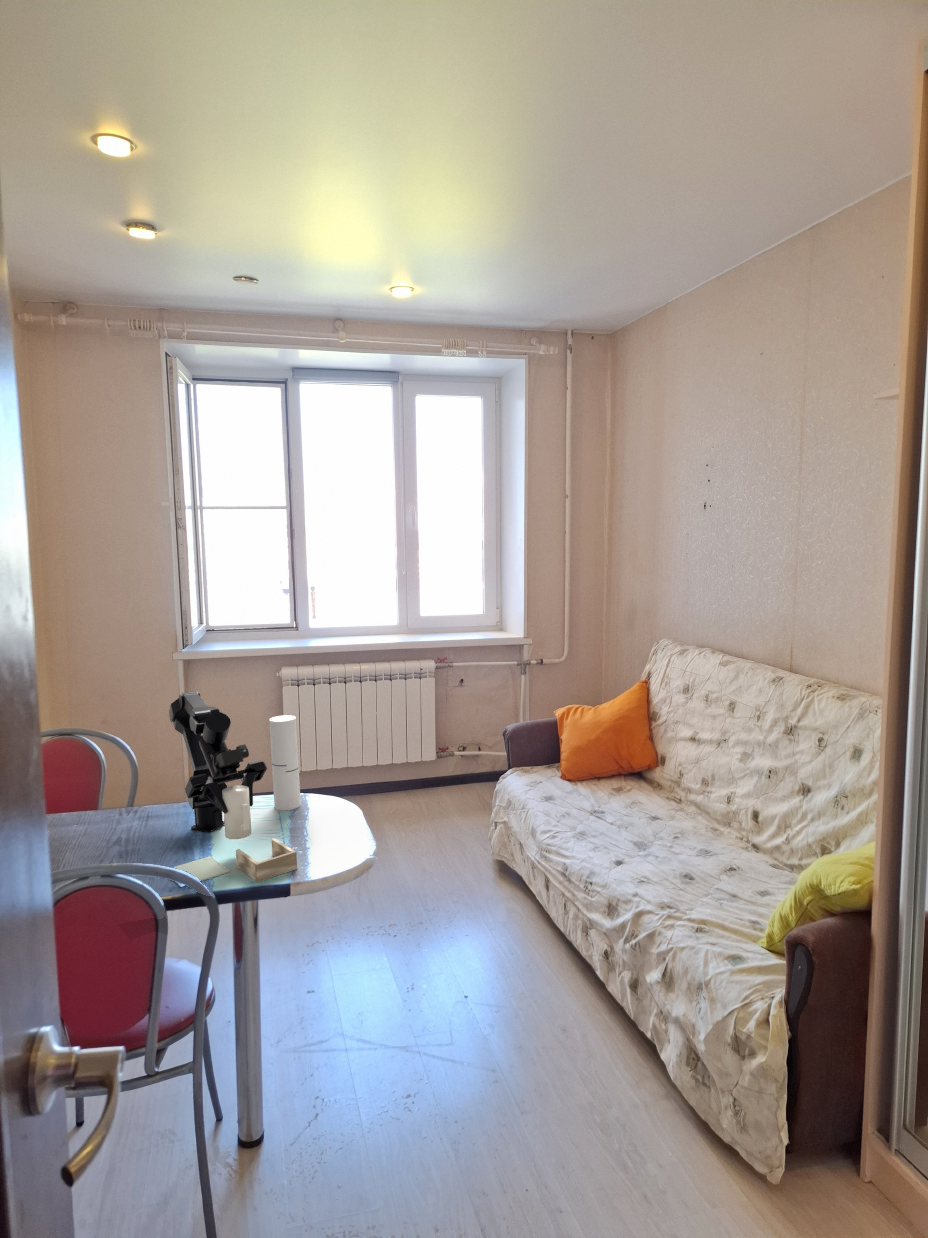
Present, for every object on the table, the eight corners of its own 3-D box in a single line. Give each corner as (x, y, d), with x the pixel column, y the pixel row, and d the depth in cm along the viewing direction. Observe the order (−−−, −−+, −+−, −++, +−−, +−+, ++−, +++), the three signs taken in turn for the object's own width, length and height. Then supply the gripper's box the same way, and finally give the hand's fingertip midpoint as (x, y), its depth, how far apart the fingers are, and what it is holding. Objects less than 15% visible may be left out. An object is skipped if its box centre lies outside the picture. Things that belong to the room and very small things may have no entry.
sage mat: (163, 871, 173) (163, 870, 173) (210, 857, 180) (210, 856, 180) (180, 887, 165) (180, 886, 165) (229, 872, 172) (229, 871, 172)
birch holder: (236, 866, 175) (235, 850, 174) (275, 854, 181) (274, 838, 180) (257, 882, 167) (256, 864, 166) (297, 868, 173) (296, 852, 172)
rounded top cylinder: (220, 834, 181) (218, 789, 180) (244, 827, 185) (241, 783, 184) (235, 844, 175) (232, 798, 174) (259, 836, 179) (257, 791, 178)
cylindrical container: (276, 802, 217) (271, 716, 214) (302, 800, 217) (297, 714, 214) (272, 811, 210) (267, 722, 207) (298, 809, 210) (293, 721, 207)
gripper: (186, 743, 175) (209, 802, 168) (261, 728, 187) (285, 782, 181) (175, 769, 182) (197, 826, 175) (248, 752, 194) (271, 805, 187)
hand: (239, 809), depth 179 cm, fingers closed on rounded top cylinder, 6 cm apart
